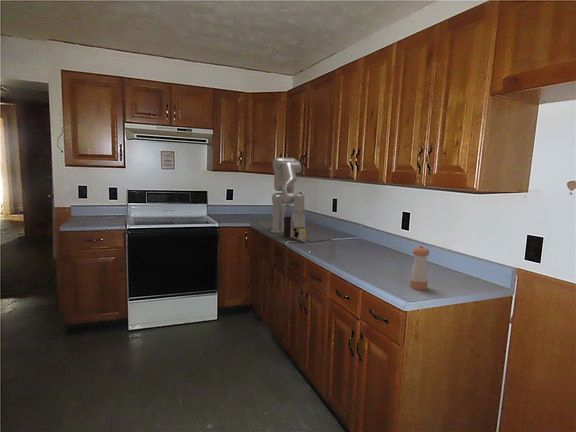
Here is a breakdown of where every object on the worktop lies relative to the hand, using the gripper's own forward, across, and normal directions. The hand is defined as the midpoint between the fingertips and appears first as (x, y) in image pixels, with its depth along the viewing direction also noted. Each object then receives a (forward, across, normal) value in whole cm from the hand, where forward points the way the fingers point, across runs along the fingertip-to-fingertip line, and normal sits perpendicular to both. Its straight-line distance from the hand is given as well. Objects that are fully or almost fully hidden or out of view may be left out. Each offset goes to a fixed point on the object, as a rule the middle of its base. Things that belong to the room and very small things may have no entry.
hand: (297, 236), depth 261 cm
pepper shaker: (+1, +12, +110) cm, 110 cm away
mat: (+3, -15, +3) cm, 15 cm away
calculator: (+4, -6, -16) cm, 18 cm away
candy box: (+2, 0, 0) cm, 2 cm away
